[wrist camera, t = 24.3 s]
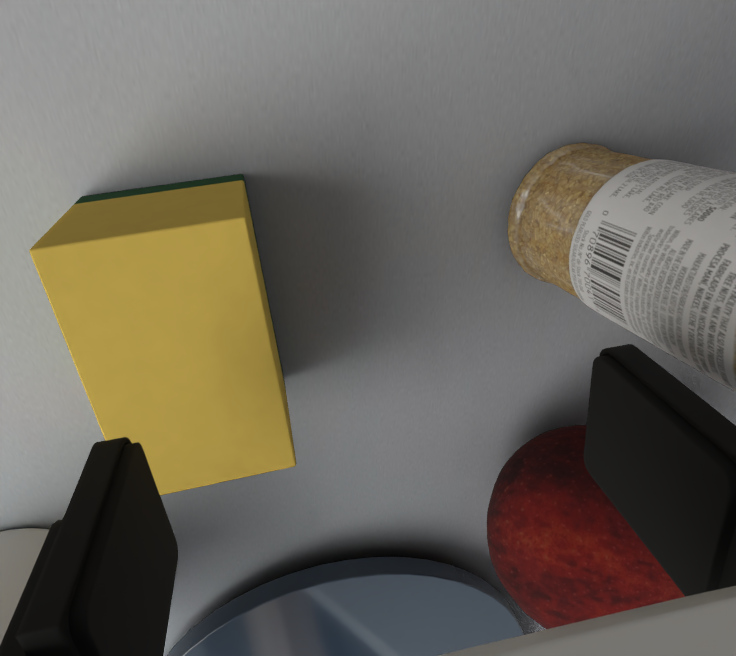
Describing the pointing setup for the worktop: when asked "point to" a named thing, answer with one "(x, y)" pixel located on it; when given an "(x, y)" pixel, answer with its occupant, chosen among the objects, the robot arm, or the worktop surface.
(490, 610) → the plate
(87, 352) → the sponge
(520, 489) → the apple
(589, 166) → the sprinkles bottle
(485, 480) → the worktop surface
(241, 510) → the worktop surface
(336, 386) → the worktop surface
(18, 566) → the mug
